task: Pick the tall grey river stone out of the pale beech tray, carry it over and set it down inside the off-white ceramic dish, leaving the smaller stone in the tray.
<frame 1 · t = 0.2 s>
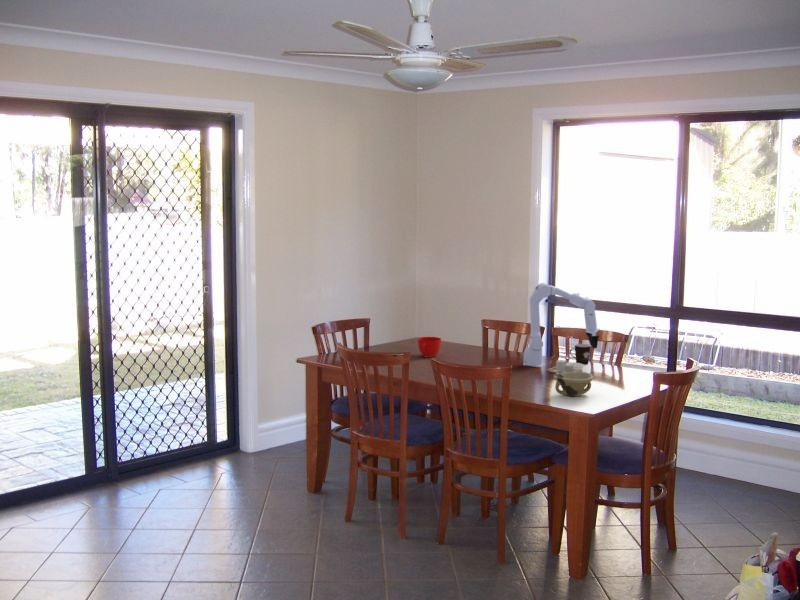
hand: (593, 346, 428), 11 cm above the table, tool pointing down, fingers open, 7 cm apart
tray: (564, 372, 415), on the table
dish: (574, 368, 423), on the table
stone b: (569, 373, 410), resting on tray
bowl: (572, 395, 370), on the table
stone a: (561, 369, 417), resting on tray
coffee mug: (579, 363, 435), on the table
ceramic cup: (428, 357, 450), on the table
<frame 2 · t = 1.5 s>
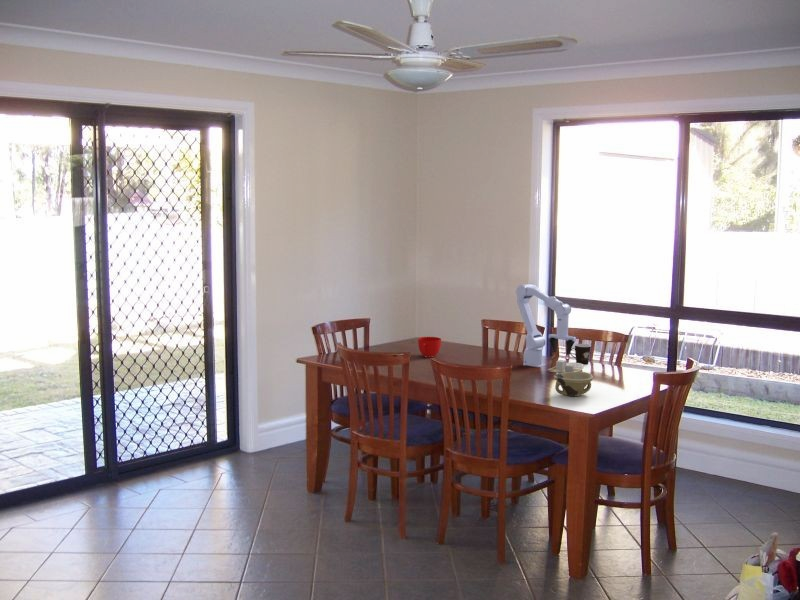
hand: (561, 353, 416), 9 cm above the table, tool pointing down, fingers open, 7 cm apart
nothing on the table moved.
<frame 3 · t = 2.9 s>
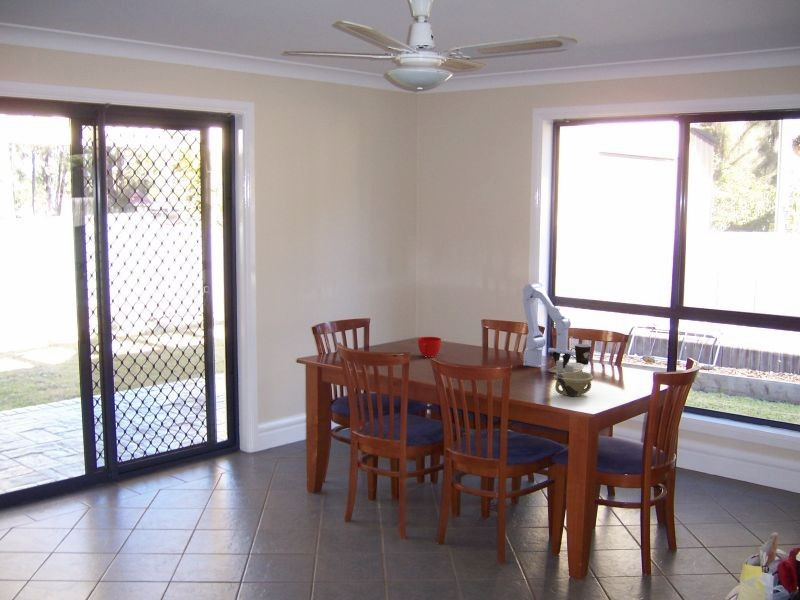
hand: (561, 367, 417), 2 cm above the table, tool pointing down, fingers closed on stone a, 4 cm apart
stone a: (561, 369, 417), resting on tray, touching gripper
everything else where it was.
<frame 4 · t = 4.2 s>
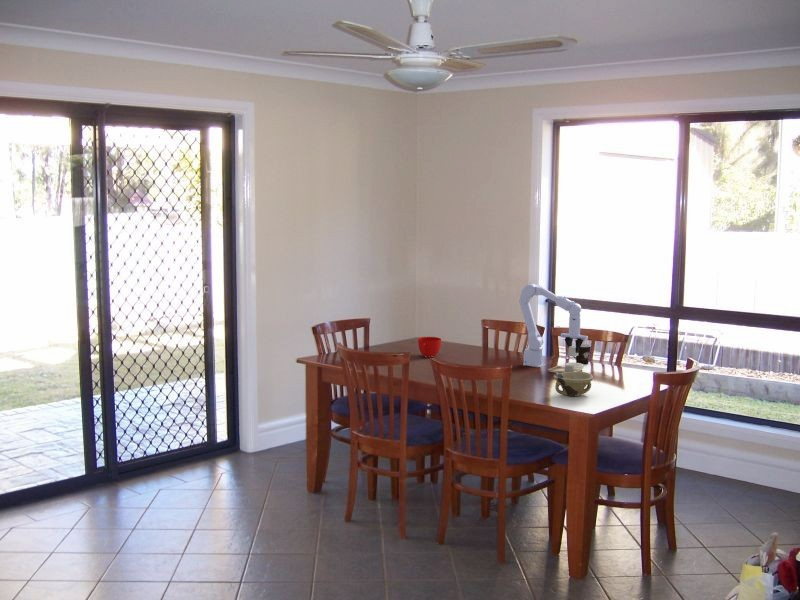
hand: (573, 352, 421), 9 cm above the table, tool pointing down, fingers closed on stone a, 4 cm apart
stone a: (573, 355, 421), point 7 cm above the table, touching gripper
everything else where it was.
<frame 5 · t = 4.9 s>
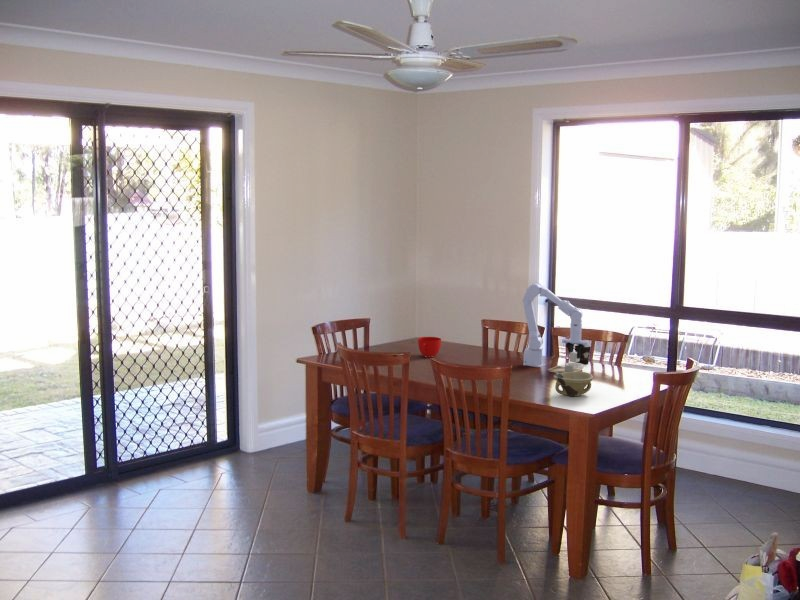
hand: (574, 357, 422), 6 cm above the table, tool pointing down, fingers closed on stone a, 4 cm apart
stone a: (574, 361, 422), point 4 cm above the table, touching gripper
everything else where it was.
when the fingers open (4 cm above the table, at t = 5.6 s): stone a drops 1 cm, resting on dish.
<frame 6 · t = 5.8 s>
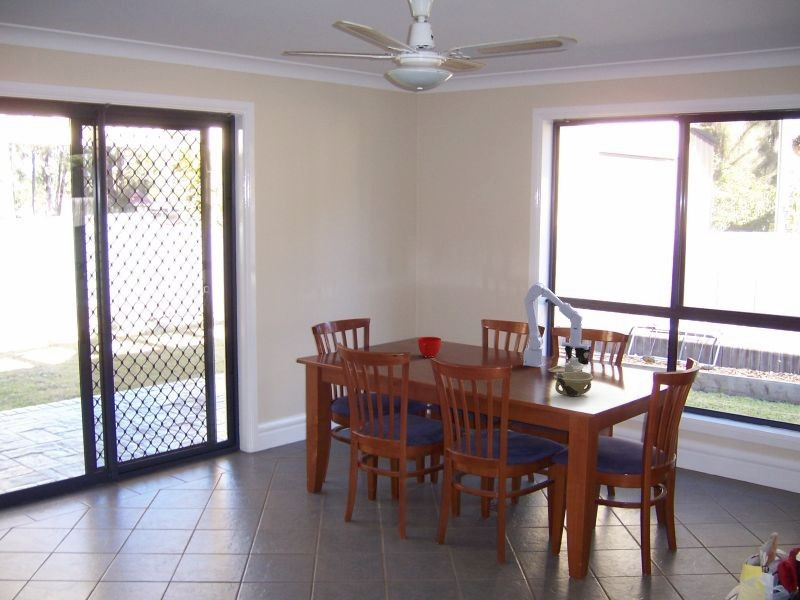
hand: (574, 361, 423), 4 cm above the table, tool pointing down, fingers open, 5 cm apart
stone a: (574, 367, 423), point 1 cm above the table, touching dish
everything else where it was.
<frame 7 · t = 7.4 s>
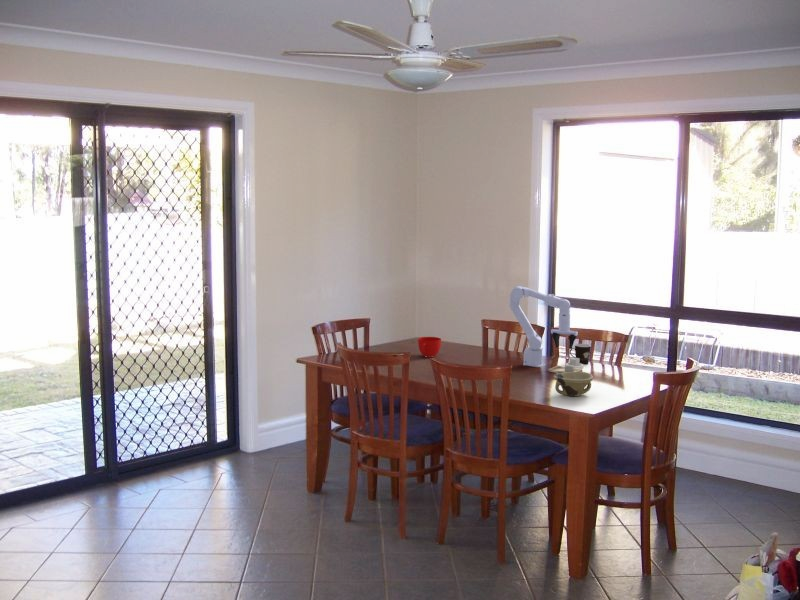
hand: (564, 347, 425), 10 cm above the table, tool pointing down, fingers open, 7 cm apart
nothing on the table moved.
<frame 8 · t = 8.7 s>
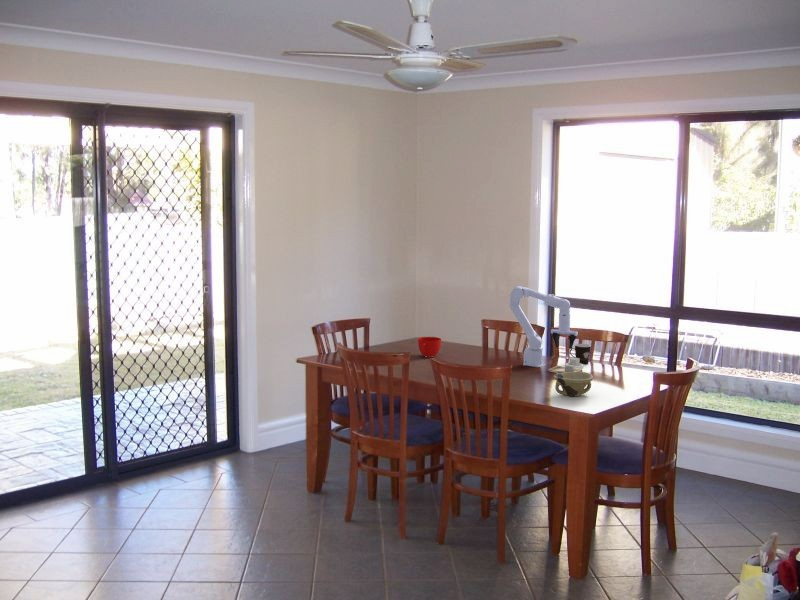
hand: (564, 347, 425), 10 cm above the table, tool pointing down, fingers open, 7 cm apart
nothing on the table moved.
at the end: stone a 0.3 cm off-centre on the dish, point 0.6 cm above the dish's base; the gripper is holding nothing; stone b moved 0.2 cm from its start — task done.
